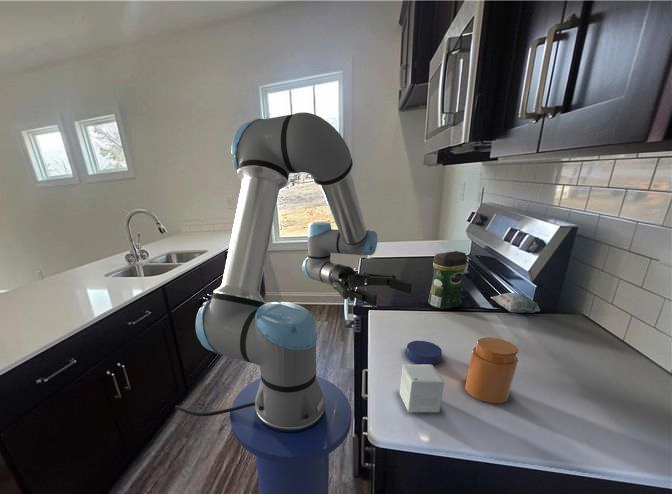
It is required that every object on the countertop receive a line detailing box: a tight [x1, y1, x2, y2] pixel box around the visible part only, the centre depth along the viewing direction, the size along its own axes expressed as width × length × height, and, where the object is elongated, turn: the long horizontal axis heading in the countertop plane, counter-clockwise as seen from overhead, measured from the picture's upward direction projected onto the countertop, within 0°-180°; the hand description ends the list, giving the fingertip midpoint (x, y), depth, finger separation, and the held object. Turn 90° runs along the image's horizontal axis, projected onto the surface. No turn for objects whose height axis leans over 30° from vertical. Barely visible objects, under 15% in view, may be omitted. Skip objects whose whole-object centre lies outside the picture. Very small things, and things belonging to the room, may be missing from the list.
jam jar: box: [464, 336, 519, 405], centre depth 65 cm, size 8×8×11 cm
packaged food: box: [490, 292, 541, 314], centre depth 102 cm, size 9×12×5 cm
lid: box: [405, 340, 443, 366], centre depth 80 cm, size 8×8×2 cm
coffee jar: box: [427, 250, 468, 310], centre depth 105 cm, size 10×8×19 cm
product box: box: [399, 364, 445, 413], centre depth 63 cm, size 6×6×7 cm
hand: (393, 294), depth 83 cm, fingers open, 13 cm apart
